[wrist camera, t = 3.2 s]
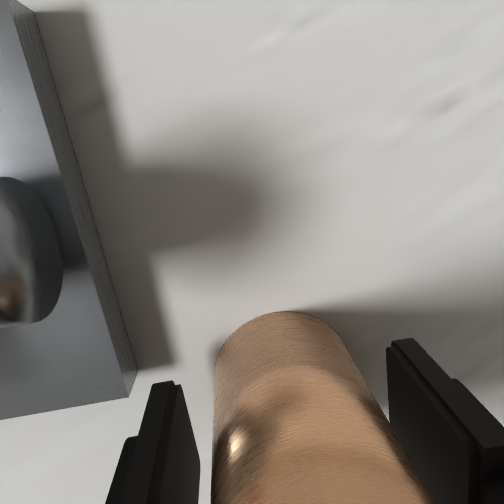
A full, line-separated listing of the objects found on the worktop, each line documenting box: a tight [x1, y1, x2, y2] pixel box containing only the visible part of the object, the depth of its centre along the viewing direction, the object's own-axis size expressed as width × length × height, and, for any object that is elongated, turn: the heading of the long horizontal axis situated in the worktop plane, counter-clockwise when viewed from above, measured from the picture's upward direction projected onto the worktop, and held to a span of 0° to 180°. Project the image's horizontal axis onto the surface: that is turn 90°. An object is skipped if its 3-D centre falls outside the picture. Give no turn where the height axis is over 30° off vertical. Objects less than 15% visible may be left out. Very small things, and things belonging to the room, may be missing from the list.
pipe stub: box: [211, 312, 436, 504], centre depth 9 cm, size 4×4×8 cm
